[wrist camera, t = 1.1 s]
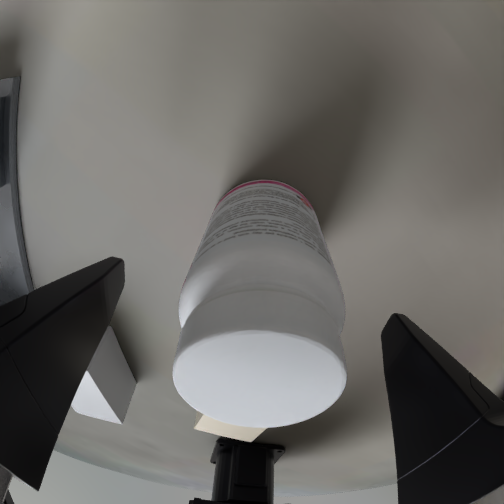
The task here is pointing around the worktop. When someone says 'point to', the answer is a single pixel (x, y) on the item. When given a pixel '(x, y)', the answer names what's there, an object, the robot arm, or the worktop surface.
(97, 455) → the worktop surface
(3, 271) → the dark grey block rack
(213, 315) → the pill bottle
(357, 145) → the worktop surface
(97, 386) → the grey block
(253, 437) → the cream rectangular block
